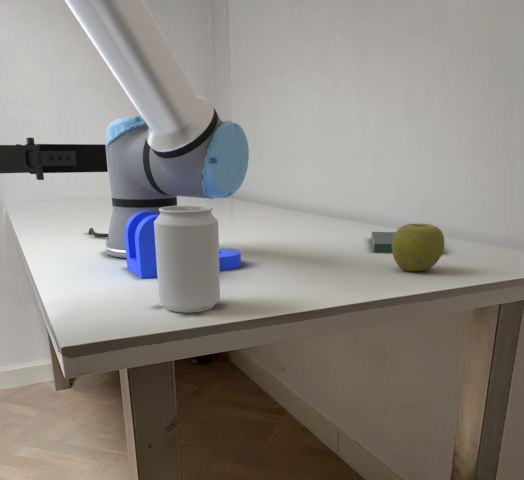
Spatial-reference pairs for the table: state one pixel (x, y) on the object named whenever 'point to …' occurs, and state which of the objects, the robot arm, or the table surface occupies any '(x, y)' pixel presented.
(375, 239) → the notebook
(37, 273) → the table surface
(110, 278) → the table surface
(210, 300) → the can
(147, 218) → the bracket
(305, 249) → the table surface
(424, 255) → the apple
